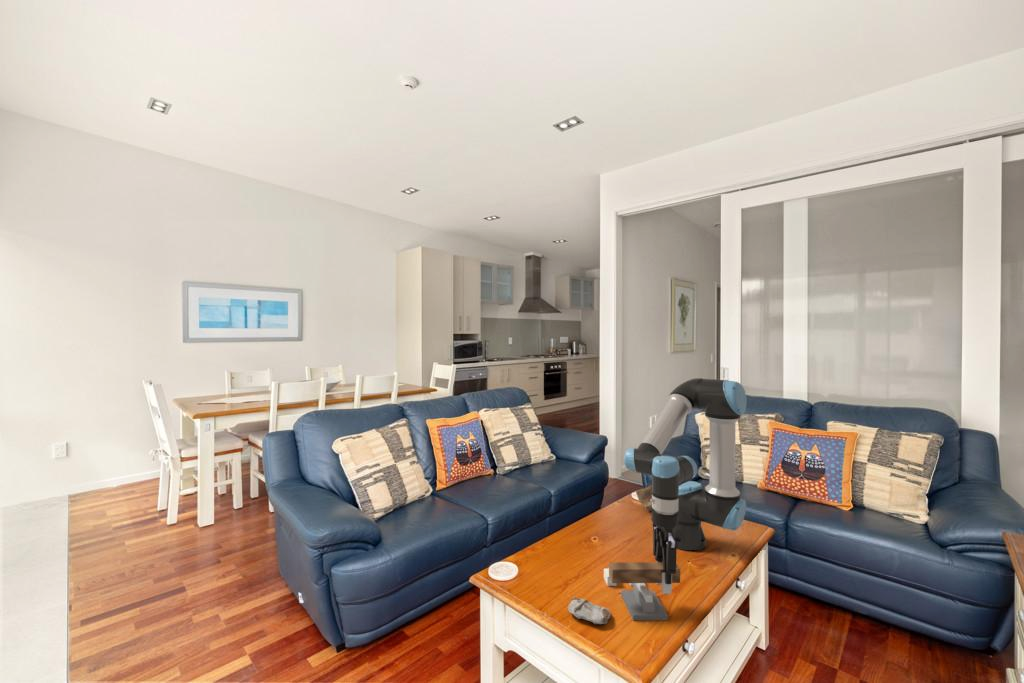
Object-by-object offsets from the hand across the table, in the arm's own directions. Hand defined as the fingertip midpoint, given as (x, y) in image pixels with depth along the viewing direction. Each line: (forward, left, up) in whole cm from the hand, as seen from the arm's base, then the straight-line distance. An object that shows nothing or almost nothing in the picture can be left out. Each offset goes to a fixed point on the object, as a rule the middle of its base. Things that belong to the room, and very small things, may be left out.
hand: (663, 588), depth 130 cm
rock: (-21, -72, -6) cm, 75 cm away
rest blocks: (+9, -14, -6) cm, 17 cm away
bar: (+6, 0, +3) cm, 7 cm away
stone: (+23, +3, -6) cm, 24 cm away
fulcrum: (+6, 0, -6) cm, 8 cm away
